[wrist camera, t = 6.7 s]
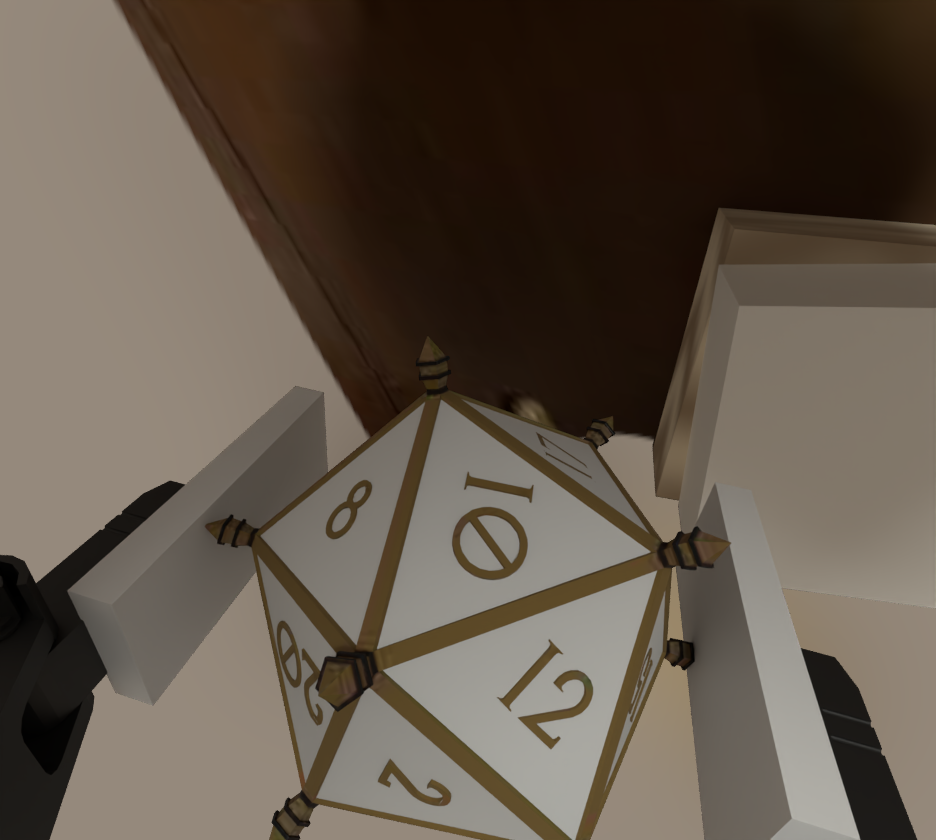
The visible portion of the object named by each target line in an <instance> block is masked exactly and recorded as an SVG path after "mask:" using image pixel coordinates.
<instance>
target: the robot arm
mask: <svg viewBox="0 0 936 840" xmlns="http://www.w3.org/2000/svg"><path fill="white" fill-rule="evenodd" d="M325 428H326V427H325V408H324V393H323V392H320V391H316V390H311V389H307V388H302V387H298V386H295V387H294V388H293V389H292V390H290V391H289V392H288V393H287V394H286V395H285V396H284V397H283V398H282V399H280V400H279V401H278V402H277V403H276V404H275V405H274V406H273V407H272V408H270V409H269V410H268V411H267V412H266V413H265V414H264V415H263V416H262V417H261V418H260V419H258V420H257V421H256V422H255V423H254V424H253V425H252V426H250V427H249V428H248V429H247V430H246V431H245V432H244V433H243V434H241V435H240V436H239V437H238V438H237V439H236V440H235V441H234V442H233V443H231V444H230V445H229V446H228V447H227V448H226V449H225V450H224V451H222V452H221V453H220V454H219V455H218V456H217V457H216V458H215V459H214V460H213V461H211V462H210V463H209V464H208V465H207V466H206V467H205V468H204V469H203V470H201V471H200V472H199V473H198V474H197V475H196V476H195V477H194V478H192V479H191V480H190V481H189V482H188V483H187V484H186V485H185V484H181V483H177V482H173V481H168V482H166V483H164V484H162V485H160V486H158V487H156V488H154V489H152V490H150V491H148V492H146V493H144V494H142V495H141V496H140V497H139V498H138V499H136V500H135V501H134V502H133V503H132V504H131V505H129V506H128V507H127V508H126V509H124V510H123V511H122V514H121V515H117V516H116V517H115V518H114V519H112V520H111V521H110V522H109V523H108V524H106V525H105V528H104V529H103V530H99V531H98V532H97V533H96V534H94V535H93V536H92V537H91V538H90V539H89V540H87V541H86V542H85V543H84V544H83V545H81V546H80V547H79V548H78V549H77V550H75V551H74V552H73V553H72V554H71V555H69V556H68V557H67V558H66V559H65V560H63V561H62V562H61V563H60V564H59V565H57V566H56V567H55V568H54V569H53V570H52V571H51V572H49V573H48V574H47V575H46V576H44V577H43V578H42V579H41V580H40V581H38V582H37V583H35V581H34V579H33V577H32V575H31V573H30V571H29V569H28V567H27V565H26V563H25V561H23V560H21V559H18V558H16V557H14V556H9V555H0V840H49V839H50V836H51V833H52V830H53V827H54V824H55V821H56V818H57V815H58V812H59V809H60V806H61V803H62V800H63V797H64V795H65V792H66V788H67V785H68V782H69V780H70V777H71V773H72V770H73V768H74V765H75V762H76V758H77V756H78V752H79V749H80V747H81V744H82V740H83V738H84V735H85V732H86V729H87V725H88V723H89V720H90V716H91V714H92V711H93V704H94V695H93V693H92V690H93V689H94V688H95V686H96V685H97V684H98V683H99V682H100V681H101V680H102V678H103V677H104V676H105V675H106V674H107V676H108V678H109V680H110V682H111V684H112V687H113V689H114V691H115V693H118V694H121V695H124V696H127V697H129V698H132V699H136V700H138V701H141V702H144V703H147V704H150V705H154V704H155V703H156V701H157V700H158V699H159V697H160V696H161V695H162V693H163V692H164V691H165V690H166V688H167V687H168V686H169V684H170V683H171V682H172V680H173V679H174V678H175V677H176V675H177V674H178V673H179V671H180V670H181V669H182V667H183V666H184V665H185V664H186V662H187V661H188V660H189V658H190V657H191V656H192V654H193V653H194V652H195V650H196V649H197V648H198V647H199V645H200V644H201V643H202V641H203V640H204V639H205V637H206V636H207V635H208V634H209V632H210V631H211V630H212V628H213V627H214V626H215V624H216V623H217V622H218V620H219V619H220V618H221V616H222V615H223V614H224V613H225V611H226V610H227V609H228V607H229V606H230V605H231V604H232V602H233V601H234V599H235V598H236V597H237V596H238V594H239V593H240V592H241V591H242V589H243V588H244V586H245V585H246V584H247V583H248V581H249V580H250V578H251V577H252V576H253V575H254V574H255V572H256V567H255V562H254V558H253V553H252V548H251V547H249V546H238V548H235V547H231V544H227V543H225V544H224V545H220V544H217V540H216V538H215V537H214V536H213V535H212V534H211V533H210V532H209V531H208V530H207V529H206V528H205V525H206V524H207V523H211V522H214V521H218V520H222V519H225V518H228V517H229V516H230V515H231V514H232V515H234V517H233V518H234V519H237V520H240V521H242V520H243V519H246V523H247V524H249V525H250V526H252V527H253V528H261V527H262V526H263V525H264V524H266V523H267V522H268V521H269V520H271V519H272V518H273V517H274V516H275V515H277V514H278V513H279V512H280V511H282V510H283V509H284V508H285V507H286V506H288V505H289V504H290V503H291V502H292V501H294V500H295V499H296V498H297V497H299V496H300V495H301V494H302V493H303V492H305V491H306V490H307V489H308V488H310V487H311V486H312V485H313V484H314V483H316V482H317V481H318V480H319V479H321V478H322V477H323V476H324V475H325V474H327V473H328V465H327V446H326V429H325ZM697 526H698V527H699V528H700V530H701V531H702V532H705V533H708V534H710V535H713V536H715V537H718V538H721V539H723V540H726V541H729V542H731V544H730V545H729V546H728V548H727V549H726V550H725V551H724V552H723V553H722V554H721V555H720V556H719V557H718V559H717V560H716V561H715V562H714V568H703V567H697V570H685V569H681V567H680V566H676V572H677V581H678V591H679V600H680V609H681V619H682V628H683V639H684V641H687V642H692V643H693V647H694V658H695V662H694V663H693V664H691V665H690V666H689V667H688V668H687V677H688V686H689V696H690V705H691V715H692V725H693V734H694V743H695V752H696V763H697V772H698V782H699V791H700V801H701V811H702V820H703V829H704V839H705V840H917V838H916V835H915V833H914V830H913V827H912V825H911V822H910V820H909V817H908V815H907V812H906V809H905V807H904V804H903V802H902V799H901V797H900V794H899V791H898V789H897V786H896V784H895V781H894V779H893V776H892V773H891V771H890V768H889V766H888V763H887V761H886V758H885V756H883V755H882V754H881V750H882V748H881V745H880V742H879V740H878V737H877V735H876V732H875V730H874V728H872V727H871V725H870V724H871V720H870V717H869V714H868V712H867V709H866V706H865V704H864V701H863V699H862V696H861V694H860V691H859V689H858V687H857V686H856V685H855V683H854V682H853V681H852V679H851V678H850V677H849V675H848V674H847V673H846V671H845V670H844V669H843V667H842V666H841V665H840V663H839V662H838V661H837V660H836V658H835V657H832V656H828V655H824V654H820V653H817V652H813V651H809V650H806V649H802V648H800V645H799V642H798V639H797V636H796V632H795V629H794V626H793V623H792V620H791V616H790V613H789V610H788V607H787V603H786V600H785V597H784V594H783V591H782V587H781V584H780V581H779V578H778V575H777V571H776V568H775V565H774V562H773V559H772V555H771V552H770V549H769V546H768V543H767V539H766V536H765V533H764V530H763V527H762V523H761V520H760V517H759V514H758V511H757V507H756V504H755V501H754V498H753V495H752V491H751V490H748V489H744V488H739V487H735V486H731V485H726V484H722V483H718V482H715V484H714V486H713V488H712V490H711V492H710V494H709V496H708V499H707V501H706V503H705V505H704V507H703V509H702V511H701V514H700V516H699V518H698V520H697V522H696V524H695V526H694V527H697Z"/></svg>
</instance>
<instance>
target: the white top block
mask: <svg viewBox="0 0 936 840" xmlns="http://www.w3.org/2000/svg"><path fill="white" fill-rule="evenodd" d="M715 482H718V483H722V484H726V485H731V486H735V487H739V488H744V489H748V490H751V491H752V495H753V498H754V501H755V504H756V507H757V511H758V514H759V517H760V520H761V523H762V527H763V530H764V533H765V536H766V539H767V543H768V546H769V549H770V552H771V555H772V559H773V562H774V565H775V568H776V571H777V575H778V578H779V581H780V584H781V587H782V588H784V589H791V590H799V591H806V592H814V593H822V594H829V595H838V596H845V597H852V598H860V599H867V600H875V601H883V602H891V603H898V604H905V605H913V606H921V607H928V608H936V263H905V264H743V265H719V267H718V273H717V279H716V284H715V290H714V296H713V302H712V308H711V314H710V320H709V326H708V332H707V338H706V344H705V350H704V356H703V362H702V368H701V374H700V380H699V386H698V391H697V397H696V403H695V409H694V415H693V421H692V427H691V433H690V439H689V445H688V451H687V457H686V463H685V469H684V475H683V481H682V487H681V493H680V498H679V505H678V508H679V516H680V525H681V531H682V532H683V533H684V534H686V533H690V532H692V531H693V528H694V526H695V524H696V522H697V520H698V518H699V516H700V514H701V511H702V509H703V507H704V505H705V503H706V501H707V499H708V496H709V494H710V492H711V490H712V488H713V486H714V484H715Z"/></svg>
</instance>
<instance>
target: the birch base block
mask: <svg viewBox="0 0 936 840" xmlns="http://www.w3.org/2000/svg"><path fill="white" fill-rule="evenodd" d="M905 263H936V225H928V224H916V223H903V222H891V221H878V220H866V219H854V218H841V217H829V216H816V215H804V214H791V213H779V212H767V211H754V210H742V209H729V208H719V209H718V212H717V216H716V220H715V223H714V227H713V231H712V234H711V238H710V242H709V245H708V249H707V253H706V256H705V260H704V263H703V267H702V271H701V274H700V278H699V282H698V285H697V289H696V293H695V296H694V300H693V304H692V307H691V311H690V315H689V318H688V322H687V326H686V329H685V333H684V337H683V340H682V344H681V348H680V351H679V355H678V359H677V362H676V366H675V369H674V373H673V377H672V380H671V384H670V388H669V391H668V395H667V399H666V402H665V406H664V410H663V413H662V417H661V421H660V424H659V428H658V432H657V435H656V439H655V441H653V445H652V447H653V462H654V478H655V493H656V496H657V497H662V498H668V499H673V500H679V498H680V493H681V487H682V481H683V475H684V469H685V463H686V457H687V451H688V445H689V439H690V433H691V427H692V421H693V415H694V409H695V403H696V397H697V391H698V386H699V380H700V374H701V368H702V362H703V356H704V350H705V344H706V338H707V332H708V326H709V320H710V314H711V308H712V302H713V296H714V290H715V284H716V279H717V273H718V267H719V265H743V264H905Z"/></svg>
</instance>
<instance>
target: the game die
mask: <svg viewBox="0 0 936 840" xmlns="http://www.w3.org/2000/svg"><path fill="white" fill-rule="evenodd" d="M449 359H450V356H445V355H444V354H443V352H442V351H441V350H440V349H439V348H438V347H437V346H436V345H435V343H434V342H433V341H432V340H431V339H430V338H429V337H428V336H427V338H426V341H425V344H424V347H423V350H422V353H421V356H420V358H417V360H416V366H419V368H420V374H419V380H423V382H424V384H425V386H426V388H427V392H425V393H424V394H423V395H422V396H421V397H419V398H418V399H417V400H416V401H414V402H413V403H412V404H411V405H410V406H408V407H407V408H406V409H405V410H403V411H402V412H401V413H400V414H399V415H397V416H396V417H395V418H394V419H392V420H391V421H390V422H389V423H388V424H386V425H385V426H384V427H383V428H381V429H380V430H379V431H378V432H377V433H375V434H374V435H373V436H372V437H371V438H369V439H368V440H367V441H366V442H364V443H363V444H362V445H361V446H360V447H358V448H357V449H356V450H355V451H353V452H352V453H351V454H350V455H349V456H347V457H346V458H345V459H344V460H343V461H341V462H340V463H339V464H338V465H336V466H335V467H334V468H333V469H332V470H330V471H329V472H328V473H327V474H325V475H324V476H323V477H322V478H321V479H319V480H318V481H317V482H316V483H314V484H313V485H312V486H311V487H310V488H308V489H307V490H306V491H305V492H303V493H302V494H301V495H300V496H299V497H297V498H296V499H295V500H294V501H292V502H291V503H290V504H289V505H288V506H286V507H285V508H284V509H283V510H282V511H280V512H279V513H278V514H277V515H275V516H274V517H273V518H272V519H271V520H269V521H268V522H267V523H266V524H264V525H263V526H262V527H261V528H253V527H252V526H250V525H249V524H247V523H246V519H243V520H242V521H240V520H237V519H234V518H233V517H234V515H232V514H231V515H230V516H229V517H228V518H225V519H222V520H218V521H214V522H211V523H207V524H206V525H205V528H206V529H207V530H208V531H209V532H210V533H211V534H212V535H213V536H214V537H215V538H216V540H217V544H220V545H224V544H225V543H227V544H231V547H235V548H238V546H249V547H251V548H252V553H253V558H254V562H255V567H256V572H257V577H258V582H259V586H260V591H261V596H262V601H263V606H264V610H265V615H266V620H267V624H268V629H269V634H270V639H271V644H272V648H273V653H274V658H275V663H276V668H277V672H278V677H279V682H280V687H281V692H282V696H283V701H284V706H285V711H286V715H287V720H288V725H289V730H290V734H291V739H292V744H293V749H294V753H295V759H296V763H297V768H298V772H299V778H300V783H301V787H302V790H301V792H300V793H299V794H297V795H296V796H295V797H293V798H292V799H290V798H287V800H286V801H285V806H284V807H283V808H282V810H281V811H280V812H279V811H278V810H277V811H276V812H275V813H274V816H273V820H272V824H273V828H272V832H271V835H270V839H269V840H299V839H300V837H299V834H300V832H301V831H302V829H303V828H304V827H308V826H309V825H310V821H309V818H310V816H311V813H312V811H313V809H314V808H315V807H316V806H317V805H319V804H320V805H324V806H329V807H333V808H338V809H343V810H347V811H352V812H357V813H361V814H366V815H370V816H375V817H379V818H384V819H389V820H393V821H398V822H403V823H407V824H412V825H416V826H421V827H426V828H430V829H434V830H439V831H444V832H449V833H453V834H457V835H462V836H467V837H471V838H476V839H480V840H590V839H591V836H592V834H593V831H594V829H595V826H596V824H597V822H598V819H599V817H600V814H601V812H602V809H603V807H604V804H605V802H606V799H607V797H608V795H609V792H610V790H611V787H612V785H613V782H614V780H615V777H616V775H617V772H618V770H619V768H620V765H621V763H622V760H623V758H624V755H625V753H626V750H627V748H628V745H629V743H630V740H631V738H632V736H633V733H634V731H635V728H636V726H637V723H638V721H639V718H640V716H641V714H642V711H643V709H644V706H645V703H646V701H647V699H648V696H649V694H650V691H651V689H652V687H653V684H654V682H655V679H656V677H657V674H658V672H659V669H660V667H661V665H662V662H663V659H664V658H665V659H667V660H668V661H670V663H671V665H672V666H674V667H675V666H676V665H679V666H681V668H682V670H686V669H687V668H688V667H689V666H690V665H691V664H693V663H694V662H695V658H694V647H693V643H692V642H687V641H682V640H678V639H672V638H670V640H669V641H667V634H668V618H669V603H670V589H671V574H672V568H673V567H675V566H680V567H681V569H685V570H697V567H703V568H714V562H715V561H716V560H717V559H718V557H719V556H720V555H721V554H722V553H723V552H724V551H725V550H726V549H727V548H728V546H729V545H730V544H731V542H729V541H726V540H723V539H721V538H718V537H715V536H713V535H710V534H708V533H705V532H702V531H701V530H700V528H699V527H698V526H697V527H694V528H693V531H692V532H690V533H686V534H684V533H683V532H682V531H681V532H678V533H677V536H676V537H675V539H673V540H671V541H670V542H668V543H666V542H662V540H661V538H660V537H659V536H658V534H657V533H656V532H655V530H654V529H653V527H652V526H651V525H650V523H649V522H648V520H647V519H646V518H645V517H644V515H643V513H642V512H641V511H640V509H639V508H638V506H637V505H636V504H635V502H634V501H633V499H632V498H631V497H630V495H629V494H628V493H627V491H626V490H625V488H624V487H623V486H622V484H621V483H620V481H619V480H618V479H617V477H616V476H615V474H614V473H613V472H612V470H611V469H610V467H609V466H608V465H607V463H606V462H605V461H604V459H603V458H602V456H601V455H600V453H599V452H598V451H597V449H598V446H602V445H603V444H605V443H607V442H608V441H609V440H608V438H610V437H611V436H613V435H615V432H614V431H613V416H612V417H607V418H603V419H599V420H597V419H593V420H592V425H591V427H587V428H586V429H587V435H586V438H584V439H581V438H578V437H575V436H573V435H570V434H567V433H565V432H562V431H559V430H556V429H554V428H551V427H548V426H545V425H543V424H540V423H537V422H535V421H532V420H529V419H526V418H524V417H521V416H518V415H515V414H513V413H510V412H507V411H505V410H502V409H499V408H496V407H494V406H491V405H488V404H486V403H483V402H480V401H477V400H475V399H472V398H469V397H466V396H464V395H461V394H458V393H456V392H453V391H450V390H448V388H447V386H446V382H447V377H448V375H449V374H451V370H448V369H447V360H449Z"/></svg>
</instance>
